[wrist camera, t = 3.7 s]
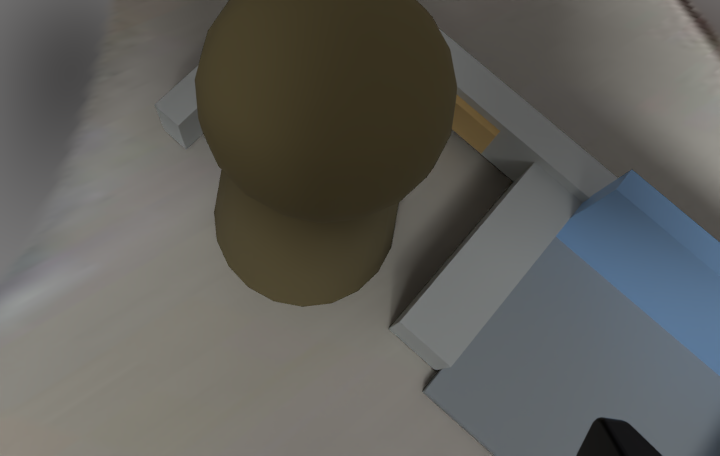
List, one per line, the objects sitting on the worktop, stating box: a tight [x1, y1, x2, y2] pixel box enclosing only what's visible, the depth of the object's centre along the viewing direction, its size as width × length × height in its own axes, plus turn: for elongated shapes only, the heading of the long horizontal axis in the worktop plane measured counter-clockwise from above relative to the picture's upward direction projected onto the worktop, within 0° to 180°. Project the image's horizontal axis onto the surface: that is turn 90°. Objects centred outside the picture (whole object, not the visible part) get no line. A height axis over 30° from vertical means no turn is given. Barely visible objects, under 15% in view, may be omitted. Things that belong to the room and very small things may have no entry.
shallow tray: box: [155, 29, 720, 456], centre depth 20 cm, size 9×22×5 cm, turn 49°
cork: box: [195, 0, 457, 307], centre depth 17 cm, size 6×6×11 cm
